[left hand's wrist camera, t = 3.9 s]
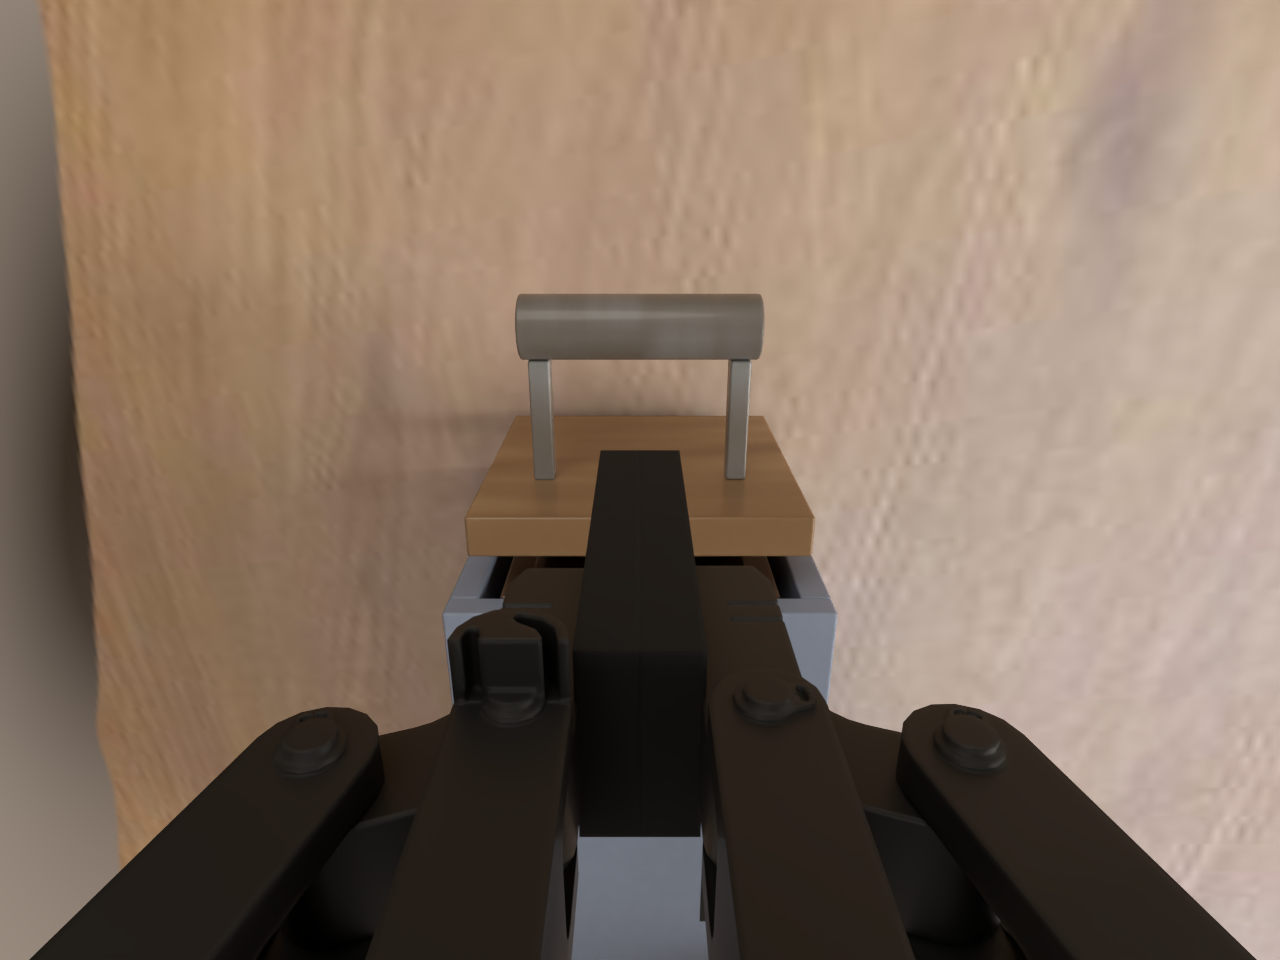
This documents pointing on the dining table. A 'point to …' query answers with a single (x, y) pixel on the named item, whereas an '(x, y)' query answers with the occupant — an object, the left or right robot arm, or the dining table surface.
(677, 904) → the cabinet
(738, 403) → the drawer
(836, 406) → the dining table surface
